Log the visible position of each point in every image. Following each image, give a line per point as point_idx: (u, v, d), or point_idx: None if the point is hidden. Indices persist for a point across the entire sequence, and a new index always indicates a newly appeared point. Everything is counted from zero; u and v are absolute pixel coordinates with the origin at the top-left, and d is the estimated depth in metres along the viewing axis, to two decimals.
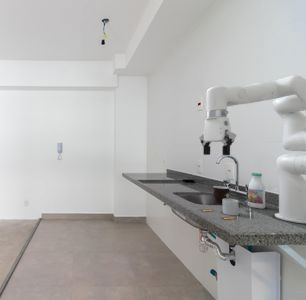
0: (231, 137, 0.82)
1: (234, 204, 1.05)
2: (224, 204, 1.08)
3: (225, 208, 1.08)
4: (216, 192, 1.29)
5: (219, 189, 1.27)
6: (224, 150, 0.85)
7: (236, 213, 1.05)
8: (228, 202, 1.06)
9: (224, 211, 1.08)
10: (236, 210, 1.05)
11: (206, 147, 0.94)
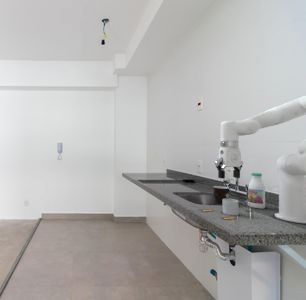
0: None
1: (234, 204, 1.05)
2: (224, 204, 1.08)
3: (225, 208, 1.08)
4: (216, 192, 1.29)
5: (219, 189, 1.27)
6: (219, 174, 1.07)
7: (236, 213, 1.05)
8: (228, 202, 1.06)
9: (224, 211, 1.08)
10: (236, 210, 1.05)
11: (234, 171, 1.08)
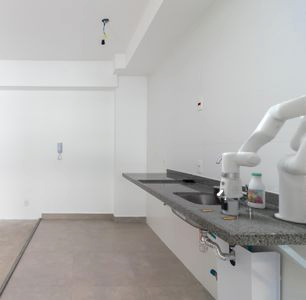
0: None
1: (234, 204, 1.05)
2: None
3: None
4: (216, 192, 1.29)
5: (219, 189, 1.27)
6: (222, 205, 1.09)
7: (236, 213, 1.05)
8: (228, 202, 1.06)
9: (224, 211, 1.08)
10: (236, 210, 1.05)
11: None
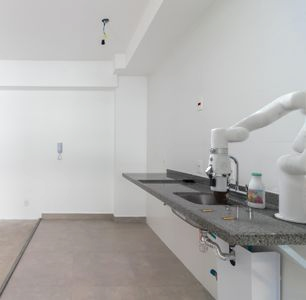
0: None
1: (222, 179, 1.04)
2: None
3: None
4: (216, 192, 1.29)
5: None
6: (210, 182, 1.07)
7: (224, 189, 1.04)
8: (216, 178, 1.05)
9: (212, 188, 1.07)
10: (224, 186, 1.04)
11: None
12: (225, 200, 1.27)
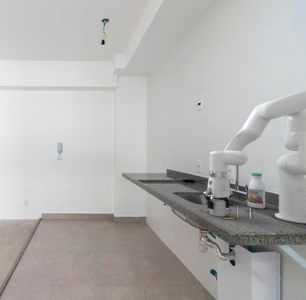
0: None
1: (221, 204, 1.03)
2: None
3: (212, 209, 1.06)
4: None
5: None
6: (208, 204, 1.07)
7: (223, 214, 1.04)
8: (215, 203, 1.05)
9: (211, 212, 1.06)
10: (223, 211, 1.04)
11: (224, 200, 1.08)
12: None
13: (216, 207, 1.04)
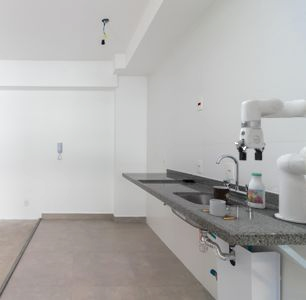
0: None
1: (221, 204, 1.03)
2: (211, 205, 1.06)
3: (212, 209, 1.06)
4: (216, 192, 1.29)
5: (219, 189, 1.27)
6: (240, 156, 1.02)
7: (223, 214, 1.04)
8: (215, 203, 1.05)
9: (211, 212, 1.06)
10: (223, 211, 1.04)
11: (256, 153, 1.03)
12: (225, 200, 1.27)
13: (216, 207, 1.04)
